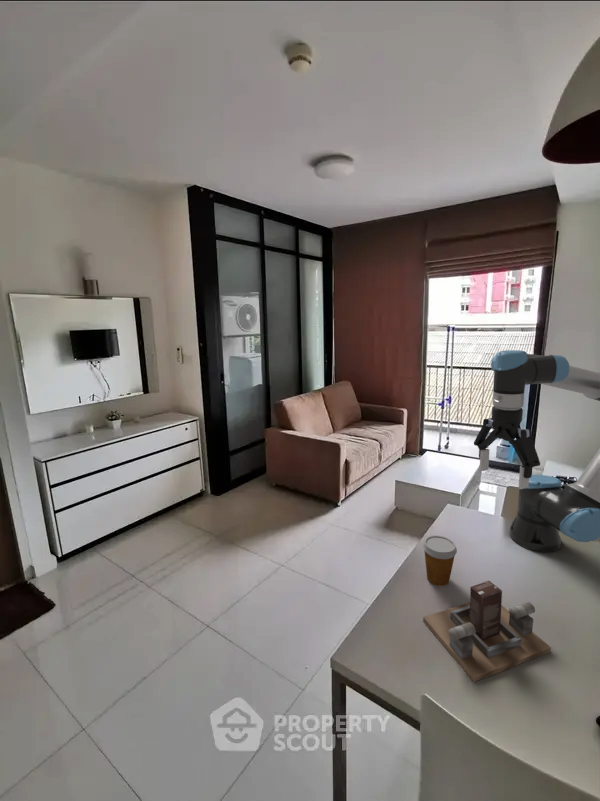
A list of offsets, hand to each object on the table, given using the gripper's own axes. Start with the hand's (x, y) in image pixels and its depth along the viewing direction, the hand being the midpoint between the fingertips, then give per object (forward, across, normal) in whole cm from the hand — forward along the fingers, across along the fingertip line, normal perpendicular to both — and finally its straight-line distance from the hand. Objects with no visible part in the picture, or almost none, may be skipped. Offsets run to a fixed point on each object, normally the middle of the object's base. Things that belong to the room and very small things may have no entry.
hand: (502, 478), depth 109 cm
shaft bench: (+31, +16, -22) cm, 41 cm away
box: (+30, +16, -22) cm, 40 cm away
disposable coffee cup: (+31, -4, -18) cm, 36 cm away
